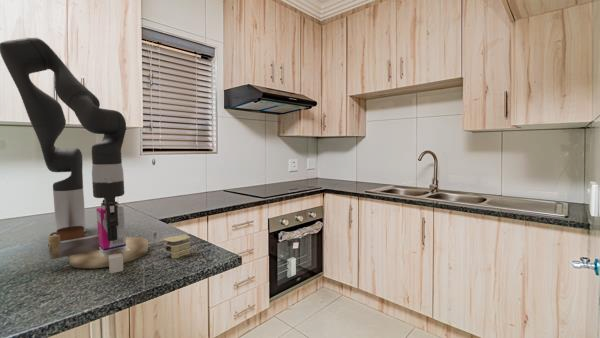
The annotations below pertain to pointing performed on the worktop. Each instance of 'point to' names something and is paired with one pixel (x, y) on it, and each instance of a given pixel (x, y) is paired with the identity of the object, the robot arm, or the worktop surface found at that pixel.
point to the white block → (115, 263)
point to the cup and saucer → (70, 233)
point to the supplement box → (103, 232)
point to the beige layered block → (177, 246)
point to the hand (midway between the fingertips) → (111, 237)
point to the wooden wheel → (94, 250)
